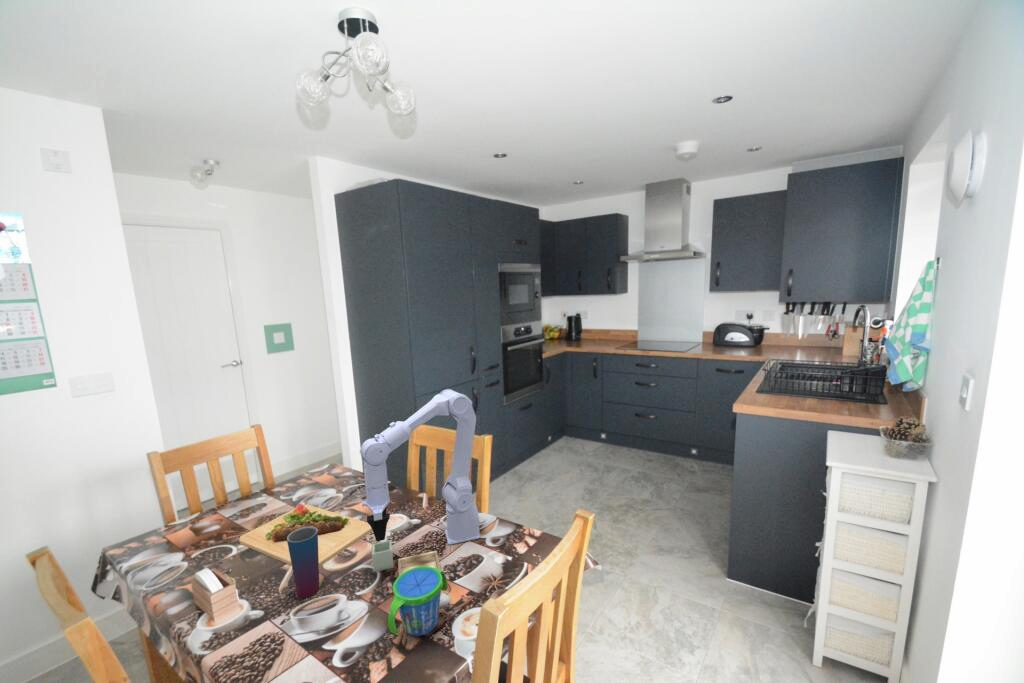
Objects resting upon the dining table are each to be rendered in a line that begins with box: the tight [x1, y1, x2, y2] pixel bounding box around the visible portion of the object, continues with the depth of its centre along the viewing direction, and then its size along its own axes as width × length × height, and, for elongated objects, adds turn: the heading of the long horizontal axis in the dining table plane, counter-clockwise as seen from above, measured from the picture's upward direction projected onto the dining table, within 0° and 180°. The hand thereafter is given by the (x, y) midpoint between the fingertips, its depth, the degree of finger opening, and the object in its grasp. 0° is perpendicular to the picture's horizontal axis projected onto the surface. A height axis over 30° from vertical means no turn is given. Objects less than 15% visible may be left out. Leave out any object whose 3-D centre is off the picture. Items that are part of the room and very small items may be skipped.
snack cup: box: [387, 566, 449, 637], centre depth 90 cm, size 16×10×10 cm
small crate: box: [371, 539, 394, 573], centre depth 112 cm, size 5×5×5 cm
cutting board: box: [239, 503, 373, 568], centre depth 128 cm, size 35×23×8 cm
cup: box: [287, 527, 320, 599], centre depth 103 cm, size 7×7×15 cm
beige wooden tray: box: [397, 550, 442, 577], centre depth 106 cm, size 10×10×3 cm
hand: (380, 532), depth 111 cm, fingers open, 7 cm apart
